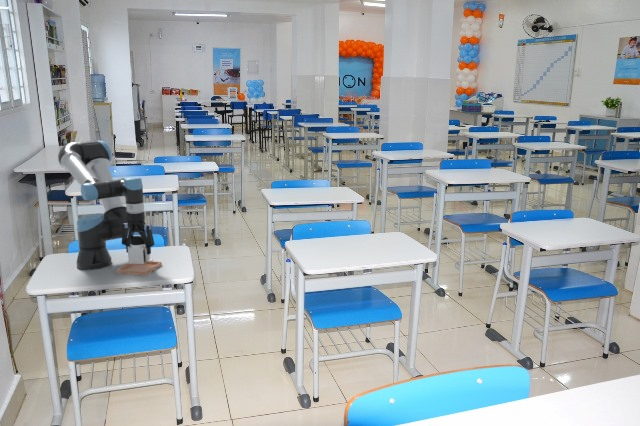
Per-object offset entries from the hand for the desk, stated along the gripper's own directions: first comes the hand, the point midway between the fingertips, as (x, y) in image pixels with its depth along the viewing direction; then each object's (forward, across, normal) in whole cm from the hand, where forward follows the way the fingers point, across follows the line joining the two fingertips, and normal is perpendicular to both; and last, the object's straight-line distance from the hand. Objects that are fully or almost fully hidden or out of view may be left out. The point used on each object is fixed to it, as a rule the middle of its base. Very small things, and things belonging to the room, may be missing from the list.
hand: (139, 260), depth 240 cm
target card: (+4, -4, +11) cm, 12 cm away
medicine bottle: (+1, 0, 0) cm, 1 cm away
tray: (+4, 0, 0) cm, 4 cm away
